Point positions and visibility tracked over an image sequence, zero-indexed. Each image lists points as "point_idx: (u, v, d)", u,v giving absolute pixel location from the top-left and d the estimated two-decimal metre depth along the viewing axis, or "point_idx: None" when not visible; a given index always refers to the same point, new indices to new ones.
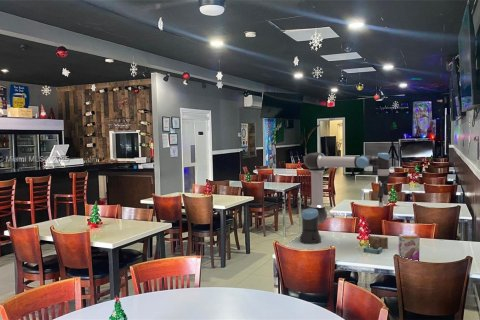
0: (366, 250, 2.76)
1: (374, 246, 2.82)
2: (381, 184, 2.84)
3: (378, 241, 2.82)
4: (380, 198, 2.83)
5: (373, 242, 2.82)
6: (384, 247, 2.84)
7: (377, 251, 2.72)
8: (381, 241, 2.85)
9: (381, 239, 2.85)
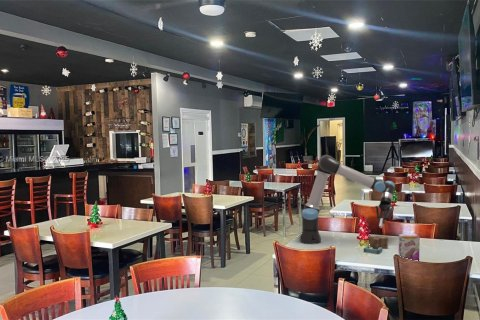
0: (366, 250, 2.76)
1: (374, 246, 2.82)
2: (393, 209, 2.98)
3: (378, 241, 2.82)
4: (384, 219, 2.95)
5: (373, 242, 2.82)
6: (384, 247, 2.84)
7: (377, 251, 2.72)
8: (381, 241, 2.85)
9: (381, 239, 2.85)
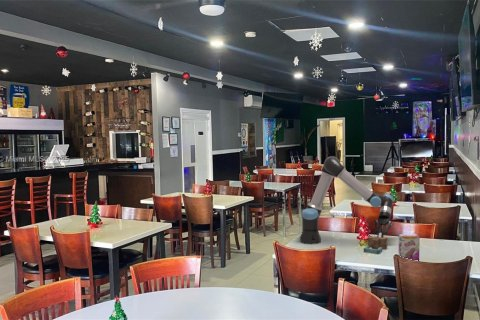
0: (366, 250, 2.76)
1: (373, 247, 2.80)
2: (391, 223, 2.94)
3: (377, 241, 2.80)
4: (383, 234, 2.91)
5: (372, 243, 2.80)
6: (383, 248, 2.82)
7: (377, 251, 2.72)
8: (380, 242, 2.83)
9: (380, 240, 2.83)
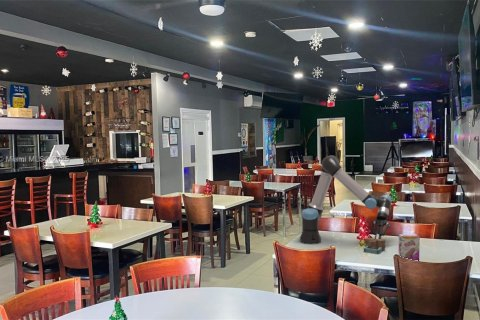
0: (366, 250, 2.76)
1: None
2: (389, 225, 2.90)
3: (375, 243, 2.76)
4: None
5: (370, 244, 2.76)
6: None
7: (377, 251, 2.72)
8: (378, 243, 2.79)
9: (378, 241, 2.79)
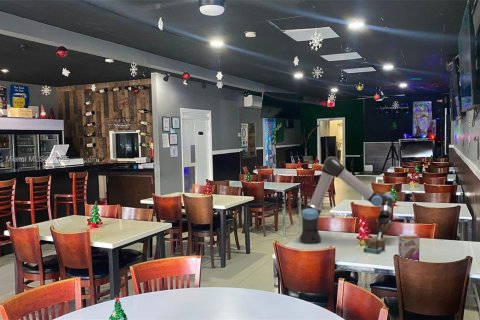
0: (366, 250, 2.76)
1: None
2: (392, 223, 2.95)
3: (375, 243, 2.76)
4: (383, 234, 2.92)
5: (370, 244, 2.76)
6: None
7: (377, 251, 2.72)
8: (378, 243, 2.79)
9: (378, 241, 2.79)
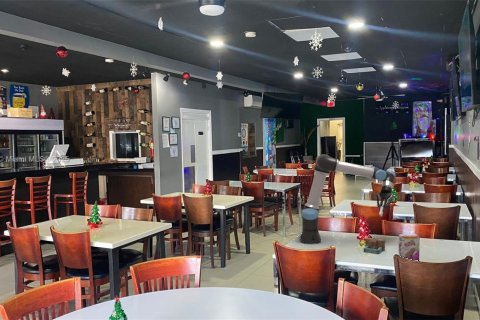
0: (366, 250, 2.76)
1: None
2: (393, 198, 2.98)
3: (375, 243, 2.76)
4: None
5: (370, 244, 2.76)
6: None
7: (377, 251, 2.72)
8: (378, 243, 2.79)
9: (378, 241, 2.79)
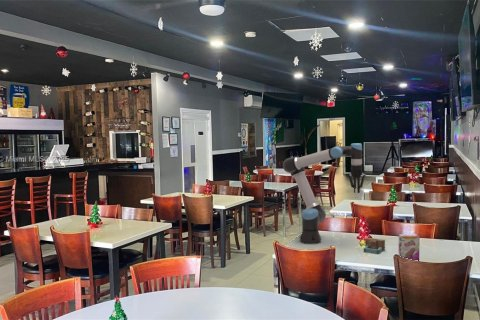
0: (366, 250, 2.76)
1: None
2: None
3: (375, 243, 2.76)
4: (359, 189, 3.01)
5: (370, 244, 2.76)
6: None
7: (377, 251, 2.72)
8: (378, 243, 2.79)
9: (378, 241, 2.79)
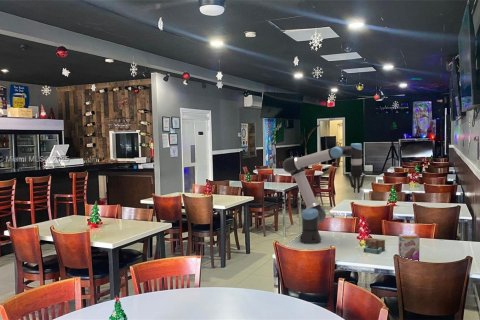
0: (366, 250, 2.76)
1: None
2: None
3: (375, 243, 2.76)
4: (359, 189, 3.01)
5: (370, 244, 2.76)
6: None
7: (377, 251, 2.72)
8: (378, 243, 2.79)
9: (378, 241, 2.79)
